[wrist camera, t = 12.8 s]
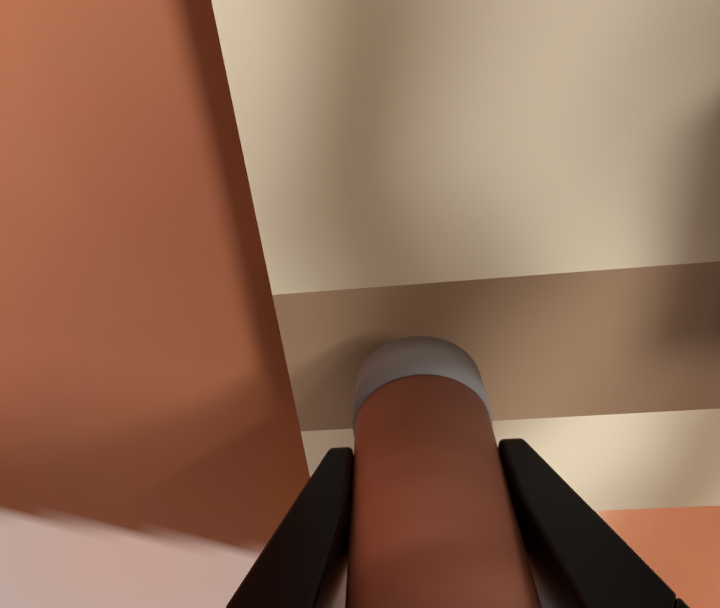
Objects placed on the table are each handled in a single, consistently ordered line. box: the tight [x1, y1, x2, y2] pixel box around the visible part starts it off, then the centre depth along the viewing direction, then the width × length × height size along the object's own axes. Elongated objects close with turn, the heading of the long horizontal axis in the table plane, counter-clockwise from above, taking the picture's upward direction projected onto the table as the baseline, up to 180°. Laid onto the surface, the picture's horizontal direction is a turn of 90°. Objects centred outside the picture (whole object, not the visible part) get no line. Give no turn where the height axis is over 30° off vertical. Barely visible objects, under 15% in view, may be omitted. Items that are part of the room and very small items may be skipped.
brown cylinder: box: [345, 336, 542, 608], centre depth 8 cm, size 3×3×8 cm
